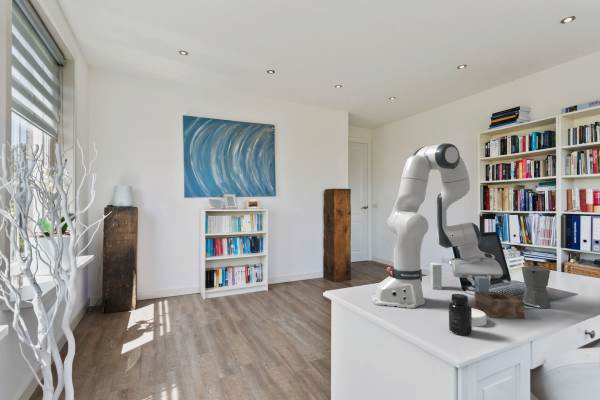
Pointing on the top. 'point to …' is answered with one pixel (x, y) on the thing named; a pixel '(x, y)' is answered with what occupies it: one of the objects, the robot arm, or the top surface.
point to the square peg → (482, 284)
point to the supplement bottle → (460, 315)
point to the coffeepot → (536, 285)
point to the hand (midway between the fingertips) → (481, 285)
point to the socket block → (499, 305)
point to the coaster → (478, 317)
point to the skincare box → (435, 276)
